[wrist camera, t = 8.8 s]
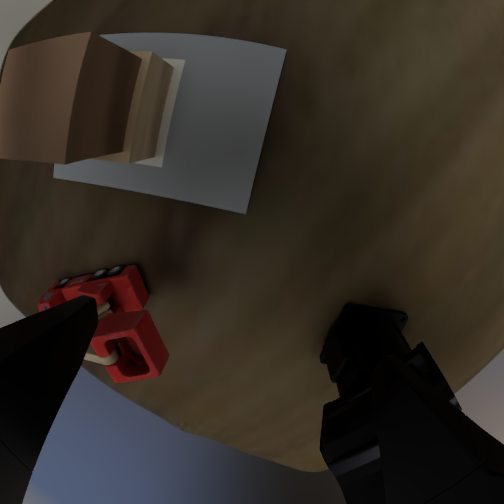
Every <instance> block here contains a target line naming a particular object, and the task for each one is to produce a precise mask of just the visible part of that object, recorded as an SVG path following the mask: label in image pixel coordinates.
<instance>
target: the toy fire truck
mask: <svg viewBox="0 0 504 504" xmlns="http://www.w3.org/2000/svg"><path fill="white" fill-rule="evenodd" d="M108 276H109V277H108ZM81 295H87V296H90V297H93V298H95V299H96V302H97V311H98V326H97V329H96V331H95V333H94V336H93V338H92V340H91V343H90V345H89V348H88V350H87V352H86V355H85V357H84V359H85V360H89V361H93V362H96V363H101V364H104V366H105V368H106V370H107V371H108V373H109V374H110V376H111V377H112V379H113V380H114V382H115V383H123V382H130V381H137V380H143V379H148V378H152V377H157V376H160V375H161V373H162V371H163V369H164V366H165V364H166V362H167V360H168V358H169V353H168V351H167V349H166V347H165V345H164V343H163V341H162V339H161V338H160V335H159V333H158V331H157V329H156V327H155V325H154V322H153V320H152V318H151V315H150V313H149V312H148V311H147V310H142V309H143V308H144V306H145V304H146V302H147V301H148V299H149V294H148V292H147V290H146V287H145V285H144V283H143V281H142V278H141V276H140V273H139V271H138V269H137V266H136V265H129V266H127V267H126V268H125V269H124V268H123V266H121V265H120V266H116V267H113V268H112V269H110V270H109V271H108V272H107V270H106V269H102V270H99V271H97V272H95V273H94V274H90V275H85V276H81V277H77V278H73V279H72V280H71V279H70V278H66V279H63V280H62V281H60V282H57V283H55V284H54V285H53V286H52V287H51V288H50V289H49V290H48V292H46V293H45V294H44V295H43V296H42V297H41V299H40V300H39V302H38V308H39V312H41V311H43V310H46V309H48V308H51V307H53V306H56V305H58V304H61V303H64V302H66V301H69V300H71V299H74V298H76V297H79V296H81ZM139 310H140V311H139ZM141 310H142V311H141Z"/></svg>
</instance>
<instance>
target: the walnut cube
mask: <svg viewBox="0 0 504 504" xmlns="http://www.w3.org/2000/svg"><path fill="white" fill-rule="evenodd" d="M141 61H142V58H140V57H138V56H136V55H135V54H133V53H131V52H129V51H127V50H126V49H124V48H122V47H120V46H118V45H116V44H114V43H113V42H111V41H109V40H107V39H105V38H103V37H101V36H99V35H97V34H95V33H93V32H86V33H79V34H73V35H67V36H62V37H57V38H52V39H48V40H43V41H39V42H35V43H31V44H28V45H24V46H20V47H17V48H14V49H11V50H9V52H8V56H7V59H6V63H5V67H4V71H3V75H2V80H1V84H0V158H3V159H15V160H26V161H36V162H45V163H54V164H62V165H66V164H70V163H74V162H78V161H82V160H86V159H91V158H95V157H100V156H105V155H109V154H114V153H120V152H123V146H124V139H125V133H126V127H127V122H128V117H129V111H130V107H131V102H132V97H133V93H134V88H135V84H136V80H137V76H138V72H139V68H140V65H141Z"/></svg>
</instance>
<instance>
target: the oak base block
mask: <svg viewBox="0 0 504 504" xmlns="http://www.w3.org/2000/svg"><path fill="white" fill-rule="evenodd" d="M129 52H131V53H133V54H135V55H136V56H138V57H140V58H142V61H141V65H140V68H139V72H138V76H137V80H136V84H135V88H134V93H133V97H132V102H131V107H130V111H129V117H128V122H127V127H126V133H125V139H124V146H123V152H120V153H114V154H109V155H105V156H100V157H95V158H91V159H96V160H104V161H111V162H118V163H125V164H131V163H134V162H138V161H141V160H145V159H149V158H153V157H155V153H156V147H157V142H158V136H159V131H160V126H161V121H162V116H163V112H164V107H165V103H166V98H167V94H168V90H169V86H170V82H171V78H172V74H173V70H174V67H173V66H172V65H170V64H169V63H167V62H166V61H165V60H163V59H162V58H161V57H159V56H158V55H156V54H155V53H154V52H146V51H129Z"/></svg>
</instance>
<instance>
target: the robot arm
mask: <svg viewBox="0 0 504 504" xmlns="http://www.w3.org/2000/svg"><path fill="white" fill-rule="evenodd" d="M349 309H351V310H350V311H348V310H349ZM402 318H403V319H402ZM407 320H408V316H407V315H406V313H404V312H399V311H393V310H387V309H381V308H375V307H369V306H364V305H358V304H352V303H349V304H347V305H345V306H344V308H343V310H342V312H341V315H340V317H339V319H338V321H337V323H336V325H335V326H333V328H332V330H331V332H330V334H329V336H328V338H327V340H326V342H325V344H324V346H323V352H322V354H321V355H320V362H321V363H322V364H327V367H328V371H329V375H330V379H331V381H332V382H333V383H336V384H337V388H338V392H339V396H340V398H338V399H336V400H334V401H332V402H328V403H326V404H325V405H324V407H323V418H322V428H321V437H320V452H321V454H322V456H323V458H324V461H325V463H326V464H327V466H328V468H329V469H330V470H331V472H332V473H333V474H334V476H335V477H336V479H337V481H338V483H339V485H340V487H341V489H342V492H343V495H344V498H345V500H346V503H347V504H504V444H502V443H501V442H500V441H498V440H497V439H495V438H494V437H493V436H491V435H490V434H489V433H487V432H486V431H485V430H483V429H482V428H481V427H480V426H478V425H477V424H476V423H475V422H474V421H472V420H471V419H470V418H469V417H468V416H465V414H464V413H463V412H462V411H461V410H462V408H461V406H460V405H459V403H458V401H457V399H456V397H455V395H454V393H453V392H452V390H451V388H450V386H449V385H448V383H447V381H446V379H445V378H444V376H443V374H442V372H441V371H440V369H439V368H438V366H437V364H436V363H435V361H434V359H433V358H432V356H431V355H430V353H429V351H428V350H427V348H426V347H425V345H424V344H423V342H420V343H419V344H418V345H416V346H417V347H416V348H414V349H413V350H411V348H410V346H409V345H408V343H407V341H406V340H405V338H404V336H403V334H402V333H401V330H402V329H403V327H404V325H405V323H406V322H407ZM97 326H98V311H97V302H96V299H95V298H93V297H90V296H87V295H81V296H79V297H76V298H74V299H71V300H69V301H66V302H64V303H61V304H58V305H56V306H53V307H51V308H48V309H46V310H43V311H41V312H39V313H36V314H34V315H31V316H29V317H26V318H24V319H21V320H19V321H16V322H14V323H12V324H9V325H7V326H4V327H2V328H0V504H22V502H23V499H24V496H25V493H26V490H27V487H28V484H29V481H30V478H31V475H32V471H33V469H34V467H35V464H36V462H37V459H38V456H39V454H40V451H41V449H42V447H43V444H44V442H45V440H46V437H47V435H48V433H49V430H50V428H51V426H52V424H53V421H54V419H55V417H56V415H57V413H58V411H59V408H60V406H61V404H62V402H63V400H64V398H65V396H66V394H67V392H68V390H69V388H70V386H71V384H72V382H73V380H74V379H75V377H76V375H77V373H78V371H79V369H80V367H81V365H82V362H83V360H84V357H85V355H86V352H87V350H88V348H89V345H90V343H91V340H92V338H93V336H94V333H95V331H96V329H97Z"/></svg>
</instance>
